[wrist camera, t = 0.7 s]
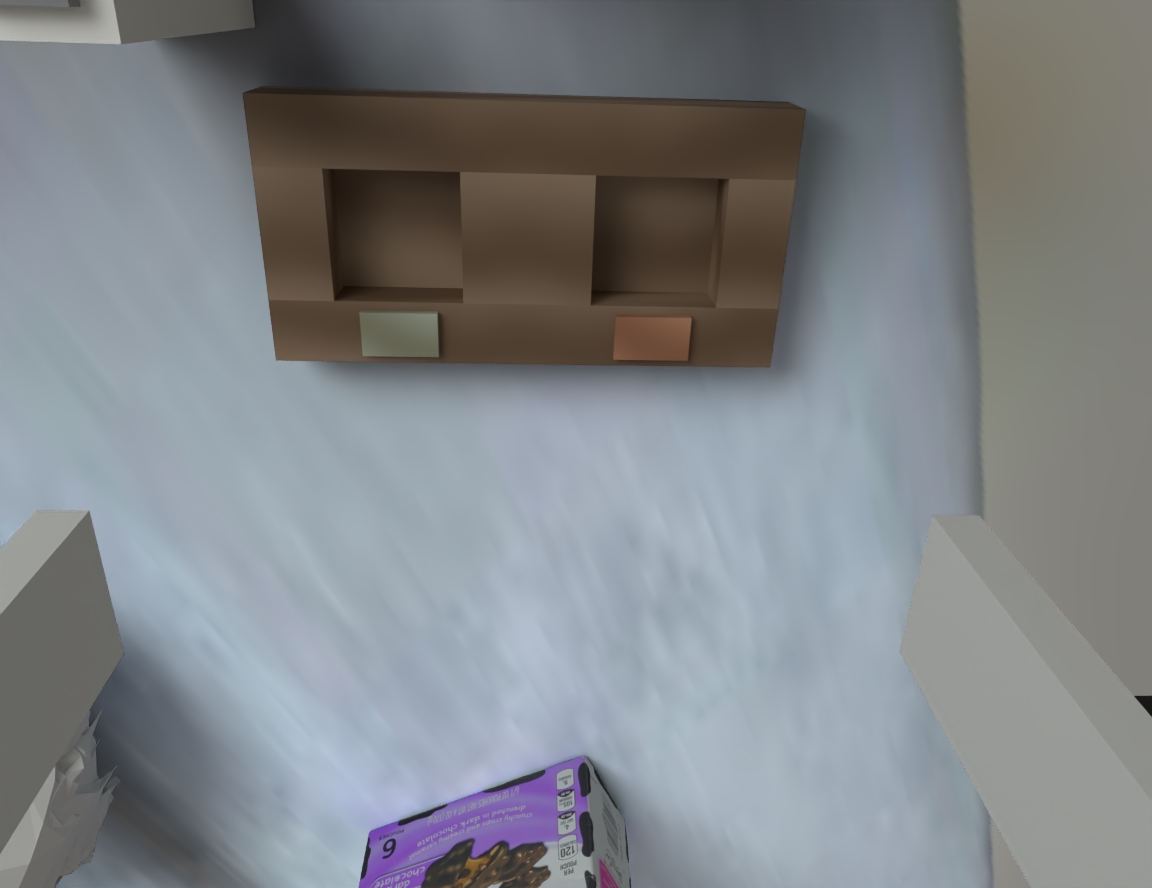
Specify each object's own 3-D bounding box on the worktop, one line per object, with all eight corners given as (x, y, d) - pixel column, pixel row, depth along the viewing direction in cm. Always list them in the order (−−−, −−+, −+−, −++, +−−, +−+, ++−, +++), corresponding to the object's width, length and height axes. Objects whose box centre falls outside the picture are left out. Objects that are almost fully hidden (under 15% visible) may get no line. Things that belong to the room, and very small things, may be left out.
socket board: (261, 86, 34) (240, 94, 31) (788, 102, 35) (807, 110, 32) (291, 338, 38) (274, 363, 36) (756, 346, 39) (771, 370, 37)
